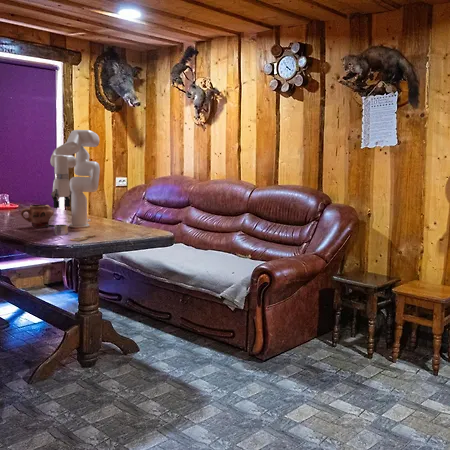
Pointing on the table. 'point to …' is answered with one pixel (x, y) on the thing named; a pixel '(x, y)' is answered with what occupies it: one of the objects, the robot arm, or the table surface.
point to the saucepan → (59, 229)
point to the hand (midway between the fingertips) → (62, 207)
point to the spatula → (82, 238)
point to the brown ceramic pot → (38, 215)
